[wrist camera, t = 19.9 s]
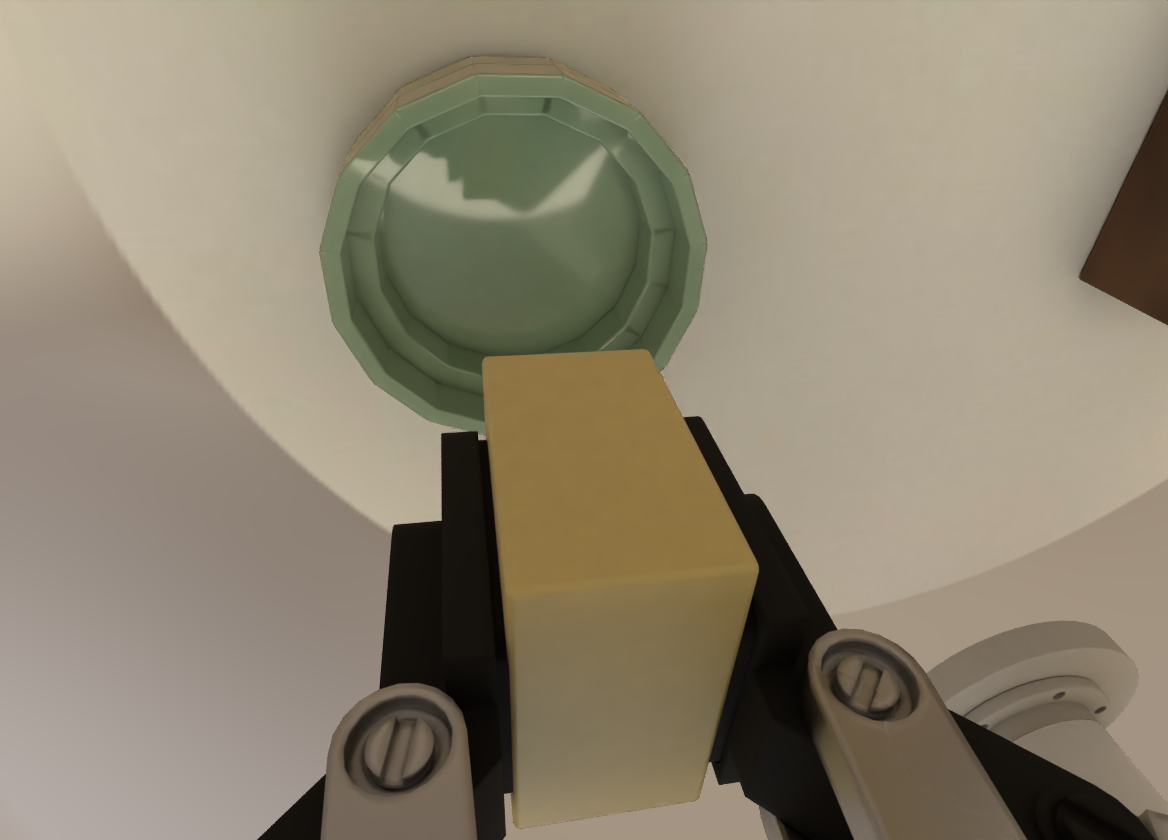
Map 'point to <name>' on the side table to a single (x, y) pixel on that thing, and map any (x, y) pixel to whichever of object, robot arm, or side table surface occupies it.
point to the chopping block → (1138, 232)
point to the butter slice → (609, 584)
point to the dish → (506, 232)
